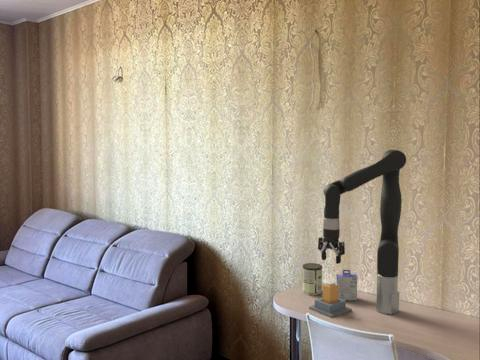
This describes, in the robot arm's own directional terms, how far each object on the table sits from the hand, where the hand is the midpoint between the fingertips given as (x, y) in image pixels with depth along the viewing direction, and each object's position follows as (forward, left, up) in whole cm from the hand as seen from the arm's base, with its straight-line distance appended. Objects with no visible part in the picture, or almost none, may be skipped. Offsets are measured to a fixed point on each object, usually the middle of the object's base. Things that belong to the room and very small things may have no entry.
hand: (330, 261), depth 214 cm
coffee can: (+23, -12, -23) cm, 35 cm away
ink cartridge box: (+5, -18, -23) cm, 30 cm away
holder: (0, 0, -23) cm, 23 cm away
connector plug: (0, 0, -22) cm, 22 cm away
